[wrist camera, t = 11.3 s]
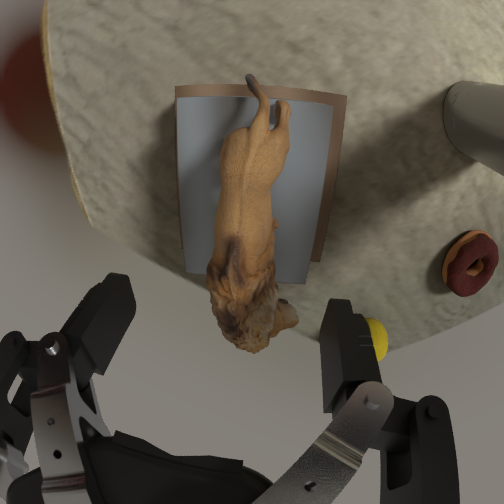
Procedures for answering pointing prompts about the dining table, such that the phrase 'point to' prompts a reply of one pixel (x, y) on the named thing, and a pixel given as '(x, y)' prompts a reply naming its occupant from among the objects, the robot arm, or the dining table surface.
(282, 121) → the lion figurine
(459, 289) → the donut
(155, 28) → the dining table surface
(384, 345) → the lemon
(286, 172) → the two-tone block
